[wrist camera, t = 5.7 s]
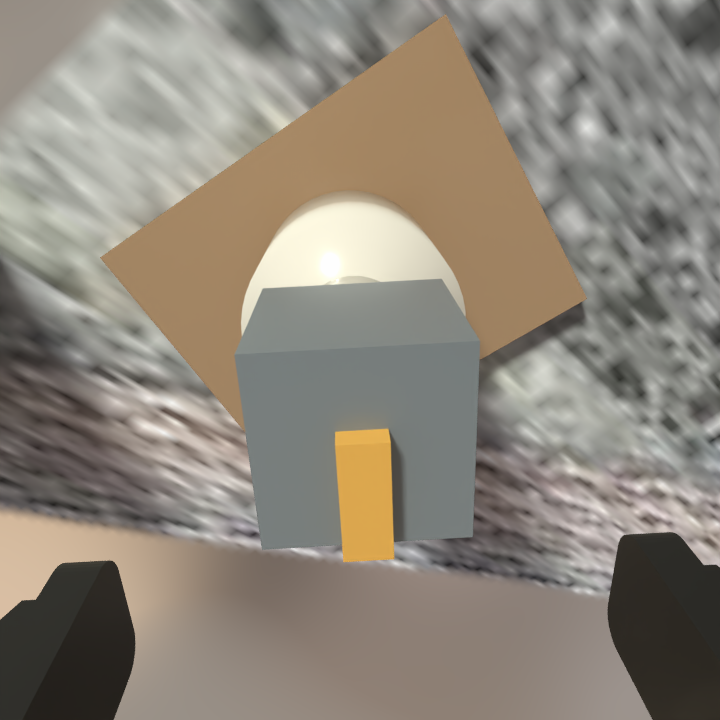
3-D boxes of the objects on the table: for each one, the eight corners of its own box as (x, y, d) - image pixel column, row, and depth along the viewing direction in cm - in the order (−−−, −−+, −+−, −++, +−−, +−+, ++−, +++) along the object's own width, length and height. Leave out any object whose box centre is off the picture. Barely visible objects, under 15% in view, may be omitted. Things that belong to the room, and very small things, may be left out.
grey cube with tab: (262, 288, 17) (229, 365, 12) (441, 278, 17) (487, 351, 12) (280, 443, 19) (259, 567, 14) (440, 434, 19) (477, 554, 14)
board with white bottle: (440, 18, 24) (514, -48, 14) (577, 291, 29) (704, 387, 19) (109, 251, 28) (-24, 333, 17) (282, 461, 32) (256, 620, 22)
